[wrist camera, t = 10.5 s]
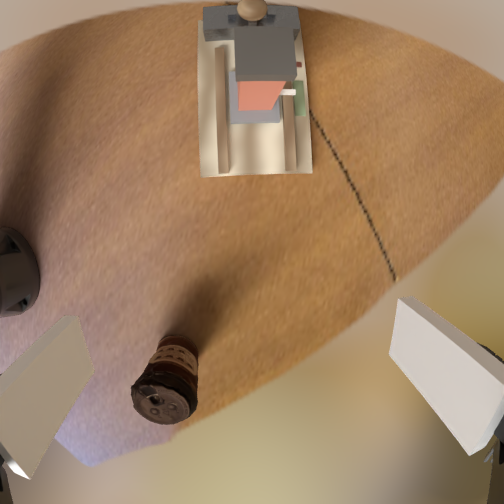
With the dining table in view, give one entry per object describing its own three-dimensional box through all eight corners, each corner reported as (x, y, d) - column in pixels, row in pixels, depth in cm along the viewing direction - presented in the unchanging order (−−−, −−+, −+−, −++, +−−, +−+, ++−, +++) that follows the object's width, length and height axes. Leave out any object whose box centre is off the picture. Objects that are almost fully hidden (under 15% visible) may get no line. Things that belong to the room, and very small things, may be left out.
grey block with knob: (205, 41, 31) (202, 25, 27) (205, 19, 30) (202, 2, 26) (295, 40, 32) (302, 25, 27) (292, 18, 31) (299, 2, 26)
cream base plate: (201, 177, 37) (199, 177, 34) (199, 25, 32) (197, 16, 29) (309, 173, 38) (314, 172, 35) (297, 24, 32) (301, 15, 30)
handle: (230, 124, 34) (228, 87, 20) (228, 74, 32) (226, 17, 18) (293, 123, 34) (327, 89, 20) (289, 73, 33) (318, 20, 19)
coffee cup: (154, 320, 41) (127, 370, 28) (208, 332, 42) (200, 388, 29) (150, 366, 43) (128, 421, 30) (200, 378, 44) (192, 436, 31)
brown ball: (237, 26, 28) (237, 12, 24) (236, 5, 27) (236, -9, 23) (266, 25, 28) (270, 12, 25) (265, 5, 27) (268, -9, 24)
